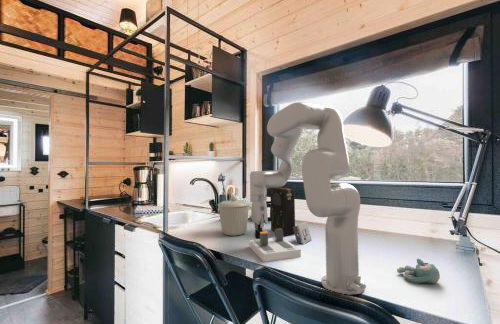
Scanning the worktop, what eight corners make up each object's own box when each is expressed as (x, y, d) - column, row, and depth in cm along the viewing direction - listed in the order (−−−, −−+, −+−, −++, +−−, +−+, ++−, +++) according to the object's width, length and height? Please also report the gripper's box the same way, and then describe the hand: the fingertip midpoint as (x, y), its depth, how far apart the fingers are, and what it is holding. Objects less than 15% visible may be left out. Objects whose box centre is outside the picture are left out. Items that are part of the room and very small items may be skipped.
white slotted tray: (300, 256, 106) (300, 249, 106) (264, 261, 102) (263, 253, 102) (281, 243, 125) (280, 236, 125) (249, 246, 121) (249, 239, 121)
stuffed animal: (401, 253, 93) (441, 255, 84) (406, 274, 92) (446, 279, 83) (388, 261, 86) (429, 264, 77) (393, 283, 85) (435, 289, 76)
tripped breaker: (268, 245, 111) (267, 232, 111) (261, 245, 110) (261, 232, 110) (266, 243, 113) (266, 231, 113) (259, 244, 112) (259, 231, 112)
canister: (239, 239, 133) (238, 198, 133) (211, 235, 142) (210, 196, 142) (256, 231, 149) (255, 194, 149) (230, 228, 158) (229, 193, 158)
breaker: (283, 240, 118) (282, 229, 118) (277, 240, 117) (276, 229, 117) (281, 239, 120) (281, 228, 120) (275, 239, 119) (275, 228, 119)
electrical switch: (303, 245, 122) (301, 225, 123) (293, 244, 126) (291, 224, 126) (312, 240, 130) (310, 221, 130) (302, 239, 133) (300, 221, 134)
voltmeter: (269, 230, 150) (268, 187, 151) (281, 228, 154) (281, 186, 155) (283, 237, 136) (282, 189, 137) (297, 235, 140) (296, 188, 140)
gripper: (272, 199, 112) (272, 242, 112) (260, 195, 127) (261, 233, 126) (255, 200, 110) (256, 243, 110) (245, 196, 124) (246, 235, 124)
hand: (258, 238), depth 118 cm, fingers closed
